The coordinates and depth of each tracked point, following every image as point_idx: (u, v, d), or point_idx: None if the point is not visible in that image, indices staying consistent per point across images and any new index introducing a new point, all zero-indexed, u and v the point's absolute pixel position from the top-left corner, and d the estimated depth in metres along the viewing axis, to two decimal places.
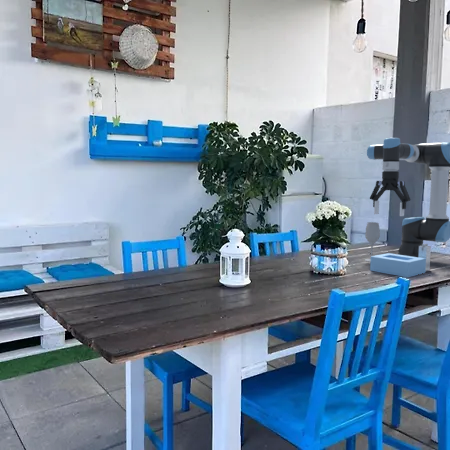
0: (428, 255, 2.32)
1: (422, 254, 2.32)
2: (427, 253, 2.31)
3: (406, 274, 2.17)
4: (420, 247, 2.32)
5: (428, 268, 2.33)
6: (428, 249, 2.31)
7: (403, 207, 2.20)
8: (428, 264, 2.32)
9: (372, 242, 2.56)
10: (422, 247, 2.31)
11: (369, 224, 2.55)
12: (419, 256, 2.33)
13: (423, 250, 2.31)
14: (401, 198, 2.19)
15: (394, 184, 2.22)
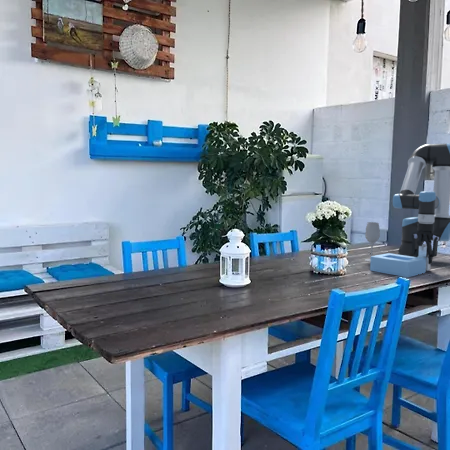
0: None
1: (422, 254, 2.32)
2: (427, 253, 2.31)
3: (406, 274, 2.17)
4: (420, 247, 2.32)
5: None
6: None
7: (429, 262, 2.30)
8: None
9: (372, 242, 2.56)
10: (422, 247, 2.31)
11: (369, 224, 2.55)
12: (419, 256, 2.33)
13: (423, 250, 2.31)
14: (429, 253, 2.30)
15: (429, 236, 2.29)
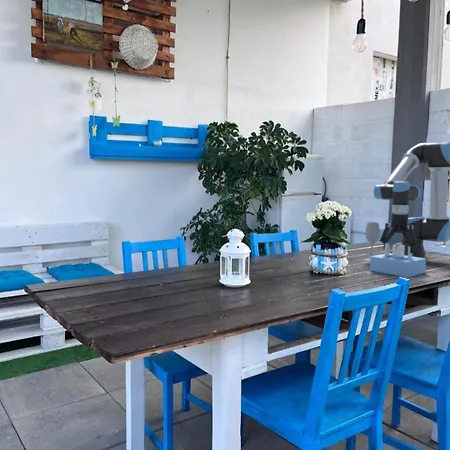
0: (402, 254, 2.27)
1: (396, 253, 2.27)
2: (400, 252, 2.26)
3: (406, 274, 2.17)
4: (394, 246, 2.28)
5: None
6: (402, 248, 2.27)
7: (411, 251, 2.23)
8: None
9: (372, 242, 2.56)
10: (396, 246, 2.27)
11: (369, 224, 2.55)
12: (393, 255, 2.29)
13: (397, 249, 2.27)
14: (409, 242, 2.22)
15: (403, 227, 2.24)
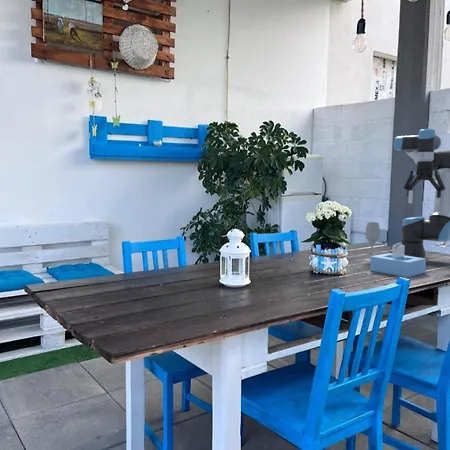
0: (402, 254, 2.27)
1: (396, 253, 2.27)
2: (400, 252, 2.26)
3: (406, 274, 2.17)
4: (394, 246, 2.28)
5: None
6: (402, 248, 2.27)
7: (438, 196, 2.27)
8: None
9: (372, 242, 2.56)
10: (396, 246, 2.27)
11: (369, 224, 2.55)
12: (393, 255, 2.29)
13: (397, 249, 2.27)
14: (436, 187, 2.27)
15: (429, 174, 2.29)
